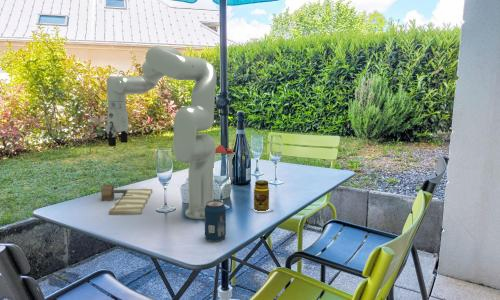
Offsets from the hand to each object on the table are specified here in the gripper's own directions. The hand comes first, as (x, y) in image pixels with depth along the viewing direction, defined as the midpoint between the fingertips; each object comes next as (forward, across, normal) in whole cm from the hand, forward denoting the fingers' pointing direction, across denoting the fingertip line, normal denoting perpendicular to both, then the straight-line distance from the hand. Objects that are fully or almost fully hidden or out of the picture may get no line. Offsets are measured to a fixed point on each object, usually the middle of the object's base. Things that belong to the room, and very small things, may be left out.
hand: (118, 144), depth 162 cm
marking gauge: (+24, -6, -1) cm, 24 cm away
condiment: (+22, -4, -65) cm, 69 cm away
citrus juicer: (+23, +30, -38) cm, 54 cm away
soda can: (+22, -36, -55) cm, 70 cm away
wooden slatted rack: (+23, -8, -10) cm, 27 cm away
